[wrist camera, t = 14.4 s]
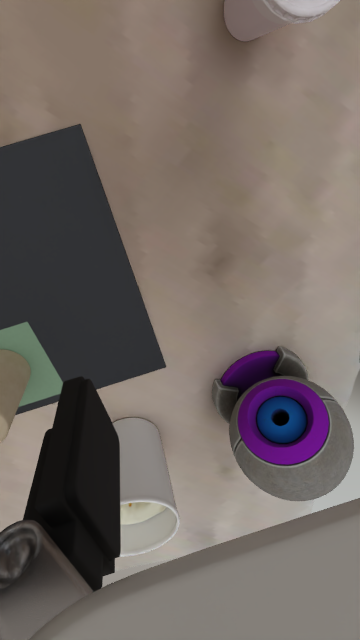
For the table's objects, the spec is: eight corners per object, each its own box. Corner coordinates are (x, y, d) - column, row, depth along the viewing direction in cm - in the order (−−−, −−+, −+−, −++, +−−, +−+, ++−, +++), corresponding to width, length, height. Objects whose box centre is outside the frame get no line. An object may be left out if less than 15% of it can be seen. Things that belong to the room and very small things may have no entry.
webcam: (288, 329, 39) (374, 417, 26) (313, 394, 45) (392, 491, 32) (196, 377, 40) (234, 485, 27) (233, 434, 46) (278, 544, 33)
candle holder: (78, 447, 42) (64, 544, 32) (123, 401, 40) (125, 489, 29) (135, 471, 46) (140, 564, 36) (179, 430, 44) (198, 517, 33)
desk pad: (-198, 205, 25) (-200, 205, 25) (80, 124, 26) (80, 124, 25) (-16, 424, 38) (-17, 425, 37) (165, 366, 38) (166, 367, 38)
